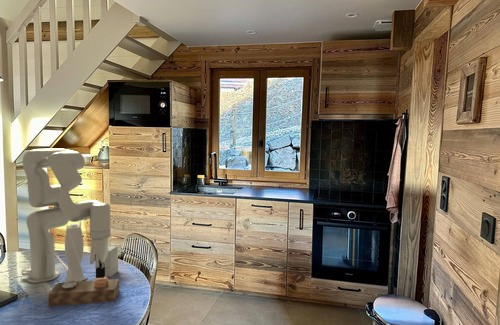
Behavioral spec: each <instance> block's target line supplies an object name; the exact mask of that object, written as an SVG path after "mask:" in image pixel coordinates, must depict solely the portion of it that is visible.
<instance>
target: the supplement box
mask: <svg viewBox="0 0 500 325" xmlns="http://www.w3.org/2000/svg"><path fill="white" fill-rule="evenodd" d="M118 250H119V248H118V245H108V256H107V258H106V259H105V276H104V277H109V278H111V277H112V276H114V275H115V274H117V273H118V272H119V253H118V252H119V251H118Z"/></svg>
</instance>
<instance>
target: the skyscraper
mask: <svg viewBox="0 0 500 325" xmlns="http://www.w3.org/2000/svg"><path fill="white" fill-rule="evenodd" d="M64 237H65V238H64V253H65V260H66V264H67V266H68V267H67V271H66V280H64V281H63V282H69V281H76V282H78V281H87V280H88V277H85V276H84V273H83V272H84V271H83V269H82V266H81V263H82V260H83V255H84V249H85V248H84V246H85V245H84V242H85V241H84V235H83V231H82V220H81V221H79V224H78V223H72V224H70V225H69V224H66V229H65V236H64Z"/></svg>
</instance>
